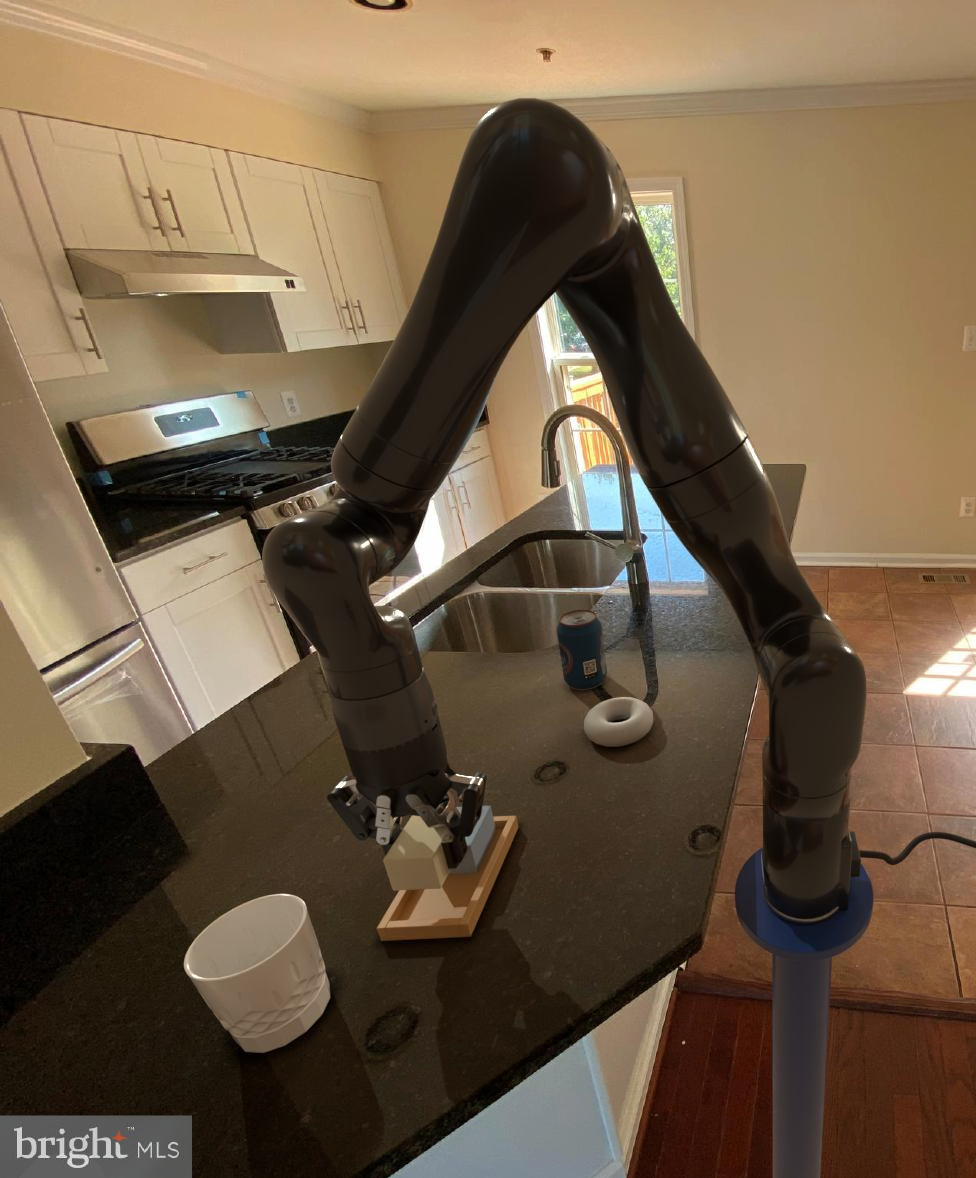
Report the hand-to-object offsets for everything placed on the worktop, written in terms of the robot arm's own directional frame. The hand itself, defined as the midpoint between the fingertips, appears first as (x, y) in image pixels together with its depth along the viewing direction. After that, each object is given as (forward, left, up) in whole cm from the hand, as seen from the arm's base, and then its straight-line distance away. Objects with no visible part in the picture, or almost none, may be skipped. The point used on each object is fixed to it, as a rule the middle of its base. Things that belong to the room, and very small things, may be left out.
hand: (430, 862), depth 63 cm
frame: (0, -3, -6) cm, 7 cm away
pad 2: (0, -6, -5) cm, 8 cm away
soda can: (-5, -43, -6) cm, 44 cm away
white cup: (+9, +11, -6) cm, 15 cm away
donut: (-13, -29, -6) cm, 33 cm away
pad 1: (0, 0, 0) cm, 0 cm away
